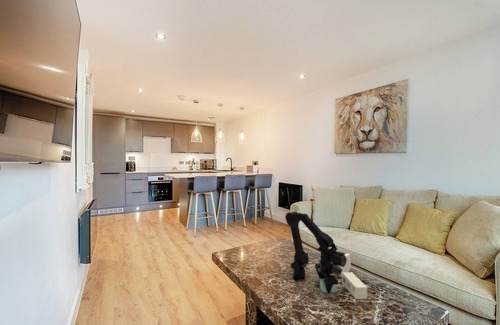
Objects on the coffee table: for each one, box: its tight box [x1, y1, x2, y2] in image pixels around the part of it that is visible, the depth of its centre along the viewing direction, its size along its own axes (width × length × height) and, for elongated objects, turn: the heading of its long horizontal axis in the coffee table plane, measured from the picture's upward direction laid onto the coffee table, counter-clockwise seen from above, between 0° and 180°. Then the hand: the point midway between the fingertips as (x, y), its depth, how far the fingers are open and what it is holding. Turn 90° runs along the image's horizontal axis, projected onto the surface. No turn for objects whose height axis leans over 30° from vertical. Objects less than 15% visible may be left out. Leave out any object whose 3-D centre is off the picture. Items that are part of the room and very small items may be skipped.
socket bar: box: [341, 271, 368, 300], centre depth 125 cm, size 6×16×6 cm, turn 2°
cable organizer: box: [331, 253, 352, 278], centre depth 146 cm, size 15×11×12 cm
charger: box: [319, 279, 342, 293], centre depth 125 cm, size 10×4×5 cm, turn 92°
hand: (325, 288), depth 125 cm, fingers open, 8 cm apart
